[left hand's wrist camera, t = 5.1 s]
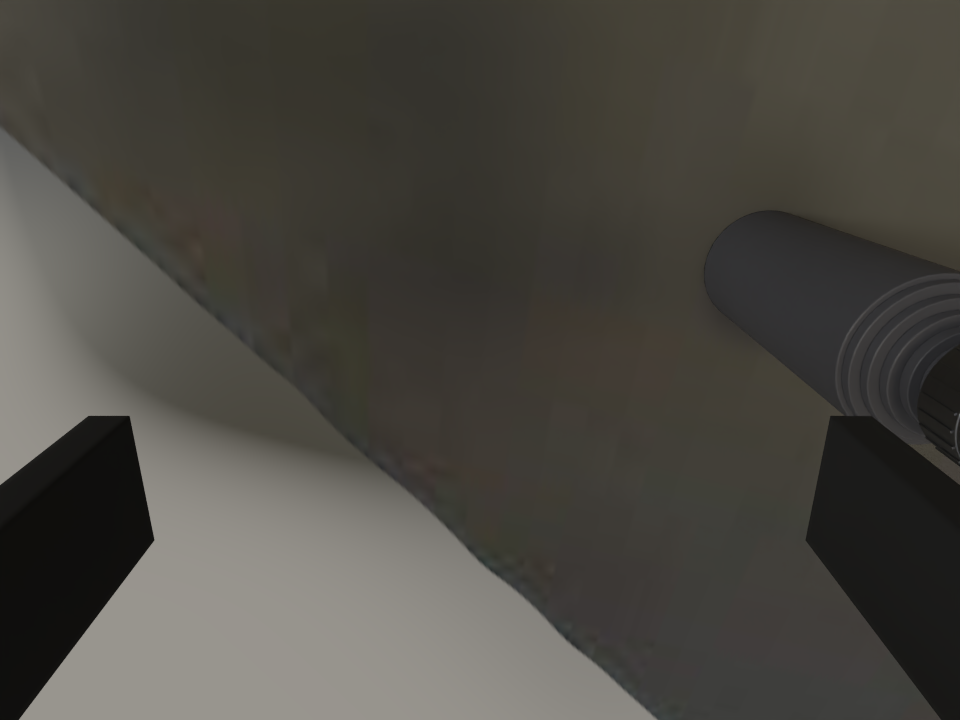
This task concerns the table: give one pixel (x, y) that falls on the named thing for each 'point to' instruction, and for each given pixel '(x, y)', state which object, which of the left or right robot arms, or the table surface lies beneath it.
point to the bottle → (838, 312)
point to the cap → (942, 405)
